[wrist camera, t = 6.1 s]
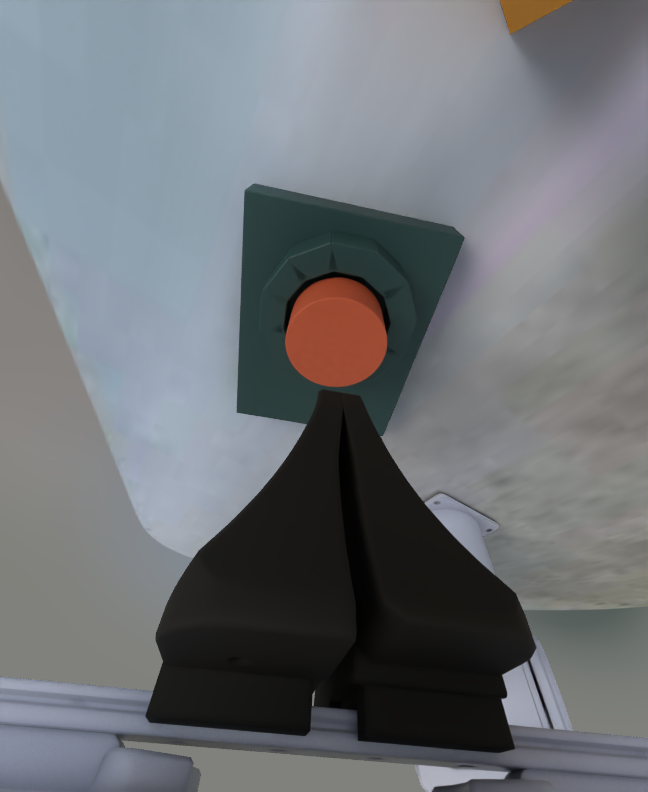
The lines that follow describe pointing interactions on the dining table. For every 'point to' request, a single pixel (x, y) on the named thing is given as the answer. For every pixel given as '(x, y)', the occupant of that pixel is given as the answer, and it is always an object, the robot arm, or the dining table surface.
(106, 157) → the dining table surface
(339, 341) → the push button
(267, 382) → the green button base
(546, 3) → the orange juice
